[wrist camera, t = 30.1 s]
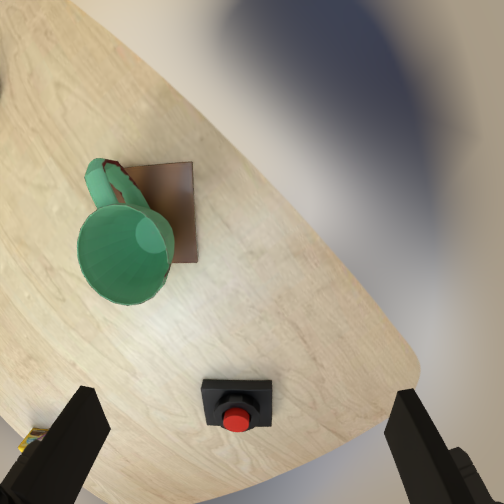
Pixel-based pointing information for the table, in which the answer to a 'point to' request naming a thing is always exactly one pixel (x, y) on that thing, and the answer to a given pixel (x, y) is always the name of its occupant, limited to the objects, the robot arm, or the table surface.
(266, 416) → the control block
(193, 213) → the brown pad
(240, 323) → the table surface
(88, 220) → the mug
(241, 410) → the stop button
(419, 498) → the robot arm
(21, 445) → the candy box
